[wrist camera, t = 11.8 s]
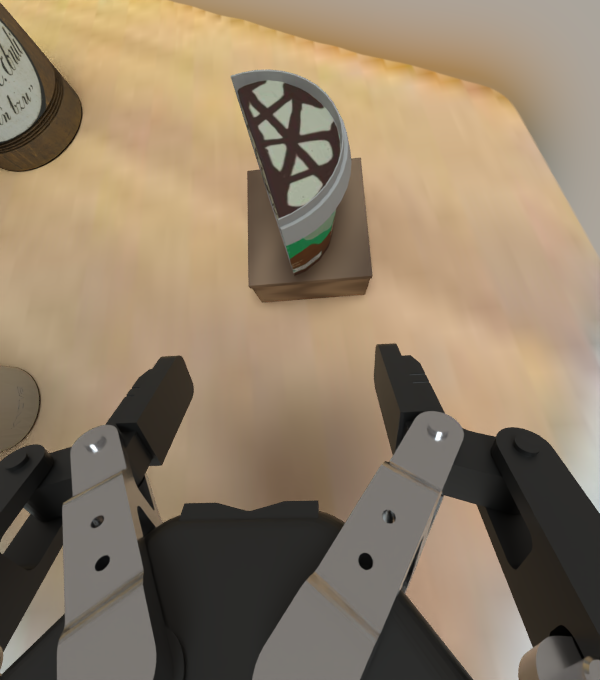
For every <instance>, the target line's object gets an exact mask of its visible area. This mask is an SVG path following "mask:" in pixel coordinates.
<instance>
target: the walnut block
mask: <svg viewBox="0 0 600 680" xmlns="http://www.w3.org/2000/svg"><path fill="white" fill-rule="evenodd" d="M247 179H248V277H249V287H250V288H252V289H253V290H254V292H255V293H256V294H257V296H258V297H259V299H260V300H261V301H262V302H273V301H286V300H299V299H312V298H325V297H338V296H351V295H364V294H365V293H366V289H367V286H368V283H369V280H370V278H372V267H371V257H370V246H369V236H368V226H367V216H366V206H365V196H364V186H363V176H362V166H361V158H353V159H351V175H350V179H349V183H348V187H347V189H346V192H345V194H344V196H343V198H342V200H341V202H340V203H339V205H338V206H337V208H336V212H335V220H334V227H333V233H332V237H331V240H330V244H329V247H328V249H327V250H326V252H325V253H324V255H323V256H322V257H321V259H320V260H319V261H318V262H317V263H316V264H314V265H313V266H312V267H310V268H309V269H308V270H307V271H305V272H302V273H300V274H298V275H295V276H294V273H293V270H292V267H291V264H290V261H289V258H288V255H287V252H286V249H285V246H284V243H283V239H282V236H281V233H280V230H279V227H278V224H277V221H276V218H275V215H274V212H273V209H272V206H271V203H270V200H269V197H268V194H267V191H266V187H265V184H264V181H263V178H262V175H261V171H260V170H253V171H247Z"/></svg>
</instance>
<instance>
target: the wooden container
mask: <svg viewBox="0 0 600 680" xmlns="http://www.w3.org/2000/svg"><path fill="white" fill-rule="evenodd" d="M80 120H81V104H80V101H79V98H78V96H77V94H76V93H75V91H74V90H73V89H72V87H71V86H70V85H69V84H68V83H67V81H66V80H65V79H64V78H63V77H62V75H61V74H60V73H59V72H58V71H57V69H56V68H55V67H54V66H53V65H52V63H51V62H50V61H49V60H48V58H47V57H46V56H45V55H44V53H43V52H42V51H41V50H40V49H39V47H38V46H37V45H36V44H35V43H34V41H33V40H32V39H31V38H30V37H29V36H28V34H27V33H26V32H25V31H24V30H23V29H22V27H21V26H20V25H19V24H18V23H17V21H16V20H15V19H14V18H13V17H12V16H11V14H10V13H9V12H8V11H7V10H6V9H5V8H4V6H3V5H2V4H1V3H0V167H1V168H3V169H6V170H12V171H23V170H29V169H33V168H36V167H39V166H41V165H43V164H45V163H47V162H49V161H51V160H52V159H54V158H55V157H56V156H58V155H59V154H60V153H61V152H62V151H63V150H64V149H65V148H66V147H67V146H68V144H69V143H70V142H71V141H72V139H73V137H74V136H75V134H76V132H77V130H78V127H79V124H80Z"/></svg>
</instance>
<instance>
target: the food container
mask: <svg viewBox="0 0 600 680" xmlns="http://www.w3.org/2000/svg"><path fill="white" fill-rule="evenodd" d="M231 79H232V82H233V85H234V89H235V92H236V95H237V98H238V101H239V104H240V108H241V111H242V114H243V117H244V120H245V123H246V127H247V130H248V133H249V136H250V139H251V143H252V146H253V149H254V152H255V155H256V159H257V162H258V165H259V168H260V171H261V175H262V178H263V181H264V184H265V187H266V191H267V194H268V197H269V200H270V203H271V206H272V209H273V212H274V215H275V218H276V221H277V224H278V227H279V230H280V233H281V236H282V239H283V243H284V246H285V249H286V252H287V255H288V258H289V261H290V264H291V267H292V270H293V273H294V276H295V275H298V274H300V273H302V272H305V271H307V270H308V269H309V268H310V267H312V266H313V265H314V264H316V263H317V262H318V261H319V260H320V259H321V257H322V256H323V255H324V253H325V252H326V250H327V249H328V247H329V244H330V240H331V237H332V233H333V227H334V220H335V212H336V208H337V206H338V205H339V203H340V202H341V200H342V198H343V196H344V194H345V192H346V189H347V187H348V183H349V179H350V175H351V154H350V147H349V142H348V137H347V132H346V129H345V126H344V122H343V120H342V118H341V116H340V114H339V112H338V110H337V108H336V106H335V105H334V103H333V101H332V100H331V99H330V98H329V96H328V95H327V94H326V93H325V92H324V91H323V90H322V89H321V88H319V87H318V86H317V85H316V84H314V83H313V82H311V81H309V80H308V79H306V78H303V77H301V76H298V75H296V74H293V73H289V72H284V71H278V70H254V71H248V72H242V73H239V74H236V75H232V76H231Z"/></svg>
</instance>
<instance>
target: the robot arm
mask: <svg viewBox="0 0 600 680" xmlns="http://www.w3.org/2000/svg"><path fill="white" fill-rule="evenodd" d="M374 383H375V389H376V393H377V397H378V401H379V405H380V408H381V412H382V416H383V420H384V424H385V427H386V431H387V435H388V439H389V442H390V446H391V450H392V454H393V457H392V458H391V460H390V461H389V462H386V461H385V462H384V463H383V464H382V465H381V466H380V467H379V469H378V471H377V472H376V474H375V475H374V477H373V479H372V480H371V482H370V484H369V485H368V487H367V488H366V490H365V492H364V493H363V495H362V497H361V498H360V500H359V501H358V503H357V505H356V506H355V508H354V510H353V511H352V513H351V514H350V516H349V518H348V519H347V521H346V523H344V522H343V521H341V520H340V519H338V518H336V517H334V516H332V515H330V514H327V513H324V512H321V511H319V504H318V501H284V502H281V503H277V504H274V505H270V506H267V507H263V508H260V509H256V510H253V511H244V510H241V509H237V508H233V507H230V506H226V505H223V504H219V503H187V504H184V507H183V510H182V513H181V515H180V516H177V517H174V518H172V519H170V520H168V521H166V522H164V523H163V522H162V520H161V517H160V515H159V511H158V508H157V505H156V502H155V498H154V495H153V492H152V488H151V485H150V482H149V479H148V476H147V474H146V471H147V469H148V467H149V466H160V465H162V464H163V462H164V459H165V457H166V455H167V453H168V450H169V448H170V446H171V444H172V442H173V439H174V437H175V435H176V433H177V431H178V428H179V426H180V424H181V422H182V420H183V417H184V415H185V413H186V411H187V408H188V406H189V404H190V402H191V400H192V397H193V393H194V387H193V382H192V380H191V377H190V375H189V372H188V369H187V367H186V364H185V362H184V359H183V358H182V357H181V356H166V357H161V358H160V359H159V360H158V361H157V363H156V364H155V366H154V367H153V369H149V370H148V371H147V372H146V373H144V374H143V375H142V376H141V377H139V378H138V380H137V381H136V383H135V384H134V385H133V387H132V389H131V390H130V391H129V392H128V394H127V397H125V398H124V399H123V401H122V402H121V404H120V405H119V406H118V408H117V409H116V411H115V412H114V413H113V415H112V416H111V418H110V419H109V420H108V422H107V423H106V425H102V426H98V427H96V428H93V429H91V430H89V431H87V432H86V433H84V434H83V435H82V436H81V437H79V438H78V439H77V440H76V442H75V443H74V444H73V446H72V447H70V448H66V449H63V450H59V451H56V452H53V453H48V452H47V451H46V449H45V448H44V447H43V446H41V445H29V446H26V447H23V448H20V449H18V450H16V451H15V452H13V453H11V454H10V455H8V456H7V457H5V458H4V459H3V460H2V461H1V462H0V541H1V538H2V536H3V535H4V533H5V532H6V530H7V529H8V528H9V526H10V525H11V523H12V522H13V521H14V519H15V518H16V517H17V515H18V514H19V512H20V511H21V510H22V508H24V509H26V510H27V511H28V512H29V513H30V516H29V517H28V519H27V520H26V522H25V523H24V525H23V526H22V527H21V529H20V530H19V532H18V533H17V535H16V536H15V538H14V539H13V540H12V542H11V543H10V545H9V546H8V548H7V549H6V551H5V552H4V554H3V555H2V554H1V553H0V669H1V666H2V661H3V652H4V650H5V648H6V646H7V644H8V643H9V641H10V639H11V637H12V635H13V634H14V632H15V630H16V628H17V626H18V625H19V623H20V621H21V619H22V617H23V616H24V614H25V612H26V610H27V608H28V607H29V605H30V603H31V601H32V599H33V598H34V596H35V594H36V592H37V591H38V589H39V587H40V585H41V583H42V582H43V580H44V578H45V576H46V574H47V573H48V571H49V569H50V567H51V565H52V564H53V562H54V560H55V558H56V556H57V555H58V553H59V551H60V549H61V547H62V546H63V559H64V598H65V614H64V615H63V616H62V617H61V618H60V619H59V620H58V621H57V622H56V623H55V624H54V625H52V626H51V627H50V628H49V629H48V630H47V631H46V632H45V633H44V634H43V635H42V636H41V637H40V638H39V639H38V640H37V641H36V642H35V643H34V644H33V645H32V646H31V647H30V648H29V649H28V650H27V651H26V652H25V653H24V654H22V655H21V656H20V657H19V658H18V659H17V660H16V661H15V662H14V663H13V664H12V665H11V666H10V667H9V668H8V669H7V670H6V671H5V672H4V673H3V674H1V673H0V680H473V679H472V678H471V676H470V675H469V674H468V673H467V671H466V670H465V669H464V667H463V666H462V665H461V664H460V662H459V661H458V660H457V659H456V657H455V656H454V655H453V654H452V652H451V651H450V650H449V649H448V647H447V646H446V645H445V644H444V642H443V641H442V640H441V639H440V637H439V636H438V635H437V634H436V632H435V631H434V630H433V628H432V627H431V626H430V625H429V623H428V622H427V621H426V620H425V618H424V617H423V616H422V615H421V613H420V612H419V611H418V610H417V608H416V607H415V606H414V605H413V603H412V602H411V601H410V600H409V598H408V597H407V596H406V594H405V593H406V591H407V588H408V586H409V583H410V581H411V579H412V576H413V574H414V571H415V569H416V566H417V563H418V561H419V558H420V556H421V553H422V550H423V547H424V545H425V542H426V540H427V537H428V535H429V532H430V530H431V527H432V525H433V522H434V520H435V517H436V515H437V512H438V510H439V507H440V505H441V502H442V500H443V497H444V495H446V496H449V497H453V498H456V499H460V500H463V501H467V502H470V503H474V504H477V507H478V509H479V512H480V514H481V517H482V519H483V522H484V524H485V527H486V530H487V532H488V535H489V537H490V540H491V542H492V545H493V547H494V550H495V552H496V555H497V557H498V560H499V562H500V565H501V568H502V570H503V573H504V575H505V578H506V580H507V583H508V585H509V588H510V590H511V593H512V595H513V598H514V600H515V603H516V606H517V608H518V611H519V613H520V616H521V618H522V621H523V623H524V626H525V628H526V631H527V633H528V636H529V638H530V641H531V644H532V646H533V648H532V649H531V650H529V651H528V652H527V653H525V655H524V656H523V657H522V659H521V661H520V664H519V669H518V677H519V680H600V513H599V512H598V511H597V509H596V508H595V506H594V505H593V504H592V502H591V501H590V499H589V498H588V497H587V495H586V494H585V492H584V491H583V490H582V488H581V487H580V485H579V484H578V483H577V481H576V480H575V478H574V477H573V476H572V474H571V473H570V471H569V470H568V469H567V467H566V466H565V464H564V463H563V461H562V460H561V459H560V457H559V456H558V454H557V453H556V452H555V450H554V449H553V448H552V446H551V445H550V444H549V443H548V442H547V441H546V440H544V439H543V438H542V437H540V436H539V435H537V434H535V433H533V432H531V431H528V430H525V429H521V428H514V427H511V428H505V429H502V430H501V431H499V432H498V434H497V436H496V437H494V436H489V435H485V434H480V433H475V432H471V431H468V430H465V429H463V428H462V427H461V425H460V424H459V423H458V422H457V421H456V420H455V419H454V418H452V417H451V416H449V415H447V414H445V413H444V411H443V409H442V407H441V405H440V403H439V400H438V398H437V396H436V394H435V392H434V390H433V388H432V386H431V384H430V383H429V380H428V378H427V376H426V375H425V372H424V370H423V368H422V366H421V364H420V363H419V362H418V361H417V360H416V359H414V358H413V357H412V356H411V355H407V356H401V353H400V351H399V349H398V346H397V344H378V345H376V350H375V367H374ZM38 408H39V394H38V389H37V386H36V384H35V381H34V380H33V379H32V377H31V376H30V375H29V374H28V373H26V372H25V371H23V370H21V369H19V368H15V367H7V366H0V451H4V450H7V449H9V448H11V447H13V446H15V445H16V444H17V443H18V442H20V441H21V440H22V439H23V438H24V437H25V436H26V435H27V433H28V432H29V430H30V429H31V427H32V426H33V424H34V421H35V419H36V417H37V413H38Z"/></svg>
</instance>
